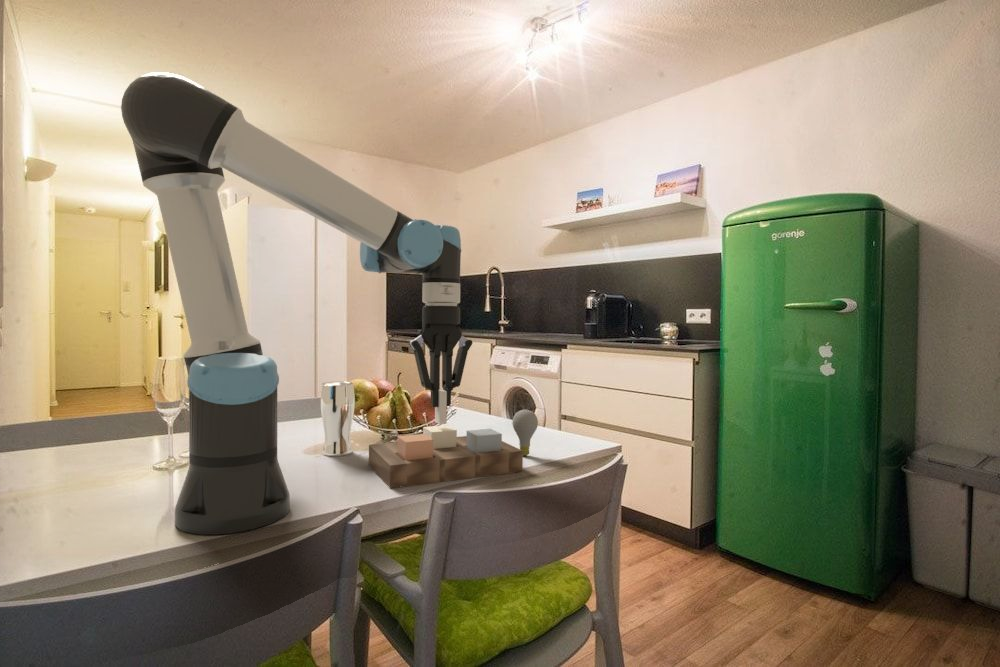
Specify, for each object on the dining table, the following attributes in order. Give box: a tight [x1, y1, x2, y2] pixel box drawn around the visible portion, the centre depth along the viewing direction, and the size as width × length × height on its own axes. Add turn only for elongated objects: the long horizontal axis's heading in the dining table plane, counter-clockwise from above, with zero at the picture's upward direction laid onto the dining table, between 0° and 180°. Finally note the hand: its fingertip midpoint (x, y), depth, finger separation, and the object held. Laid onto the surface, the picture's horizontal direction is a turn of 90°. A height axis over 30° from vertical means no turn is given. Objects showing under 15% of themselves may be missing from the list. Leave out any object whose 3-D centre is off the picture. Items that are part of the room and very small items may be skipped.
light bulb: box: [511, 409, 539, 457], centre depth 116 cm, size 6×5×10 cm
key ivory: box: [422, 424, 458, 449], centre depth 109 cm, size 5×5×5 cm
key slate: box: [466, 428, 503, 453], centre depth 106 cm, size 5×5×5 cm
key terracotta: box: [397, 433, 433, 461], centre depth 100 cm, size 5×5×5 cm
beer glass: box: [320, 381, 356, 457], centre depth 116 cm, size 7×7×15 cm
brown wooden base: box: [368, 435, 524, 489], centre depth 106 cm, size 26×16×4 cm, turn 116°
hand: (440, 422), depth 109 cm, fingers closed
